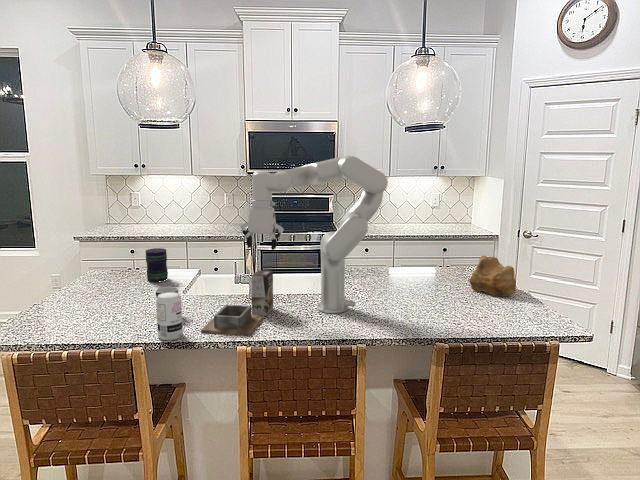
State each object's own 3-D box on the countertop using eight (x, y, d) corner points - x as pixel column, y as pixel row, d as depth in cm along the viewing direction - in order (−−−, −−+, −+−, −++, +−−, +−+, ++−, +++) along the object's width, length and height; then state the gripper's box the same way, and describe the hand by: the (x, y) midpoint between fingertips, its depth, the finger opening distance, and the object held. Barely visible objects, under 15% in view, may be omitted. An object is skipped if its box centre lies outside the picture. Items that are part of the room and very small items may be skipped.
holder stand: (263, 318, 188) (263, 304, 187) (250, 335, 170) (250, 320, 169) (218, 315, 190) (217, 302, 189) (201, 332, 173) (200, 317, 172)
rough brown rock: (458, 287, 234) (458, 257, 231) (490, 282, 237) (490, 252, 234) (485, 303, 212) (485, 270, 208) (519, 298, 215) (520, 265, 212)
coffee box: (267, 316, 190) (266, 276, 187) (251, 315, 191) (250, 275, 188) (274, 308, 199) (273, 270, 196) (258, 307, 200) (258, 269, 197)
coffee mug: (155, 312, 194) (154, 288, 192) (178, 309, 197) (177, 285, 195) (158, 322, 183) (157, 296, 181) (182, 319, 186) (181, 293, 185)
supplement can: (161, 332, 173) (158, 291, 170) (185, 331, 173) (183, 291, 171) (155, 341, 165) (153, 298, 162) (180, 340, 166) (178, 298, 163)
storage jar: (153, 276, 246) (151, 247, 243) (171, 277, 245) (170, 248, 242) (143, 282, 236) (141, 252, 233) (162, 283, 235) (160, 252, 232)
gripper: (286, 204, 190) (285, 247, 193) (244, 202, 193) (243, 244, 196) (281, 206, 183) (280, 251, 186) (237, 204, 186) (237, 248, 189)
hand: (261, 248), depth 191 cm, fingers open, 9 cm apart
